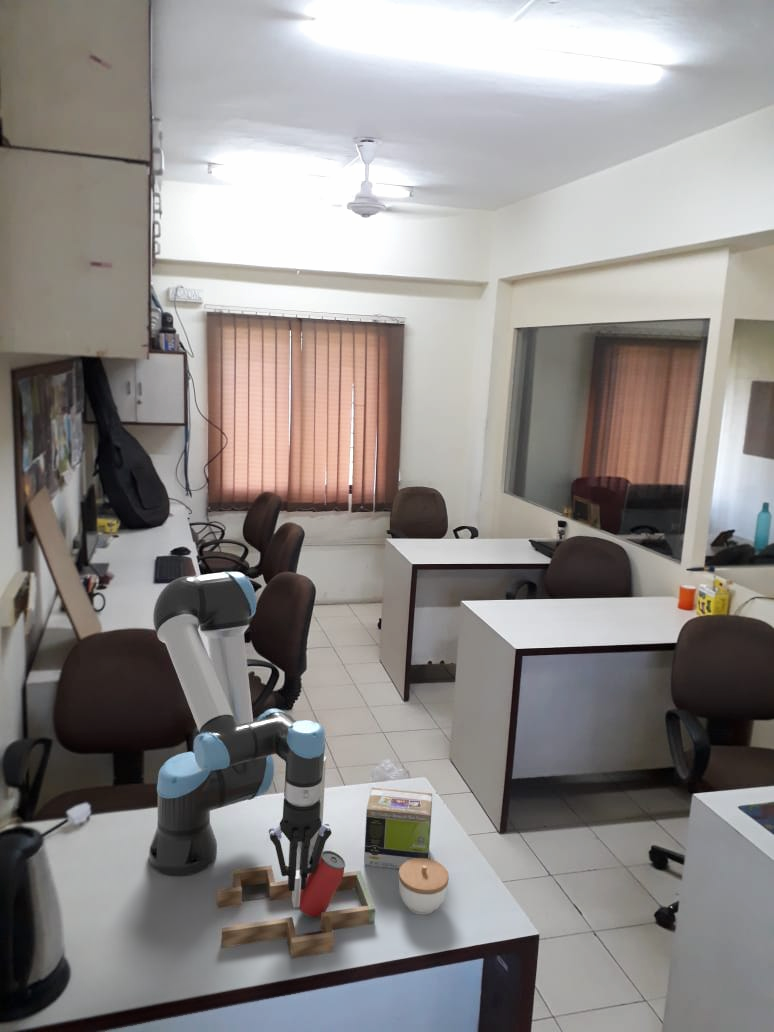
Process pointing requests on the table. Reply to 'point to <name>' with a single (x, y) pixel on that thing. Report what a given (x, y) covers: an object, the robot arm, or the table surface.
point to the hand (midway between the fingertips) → (295, 902)
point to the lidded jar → (422, 885)
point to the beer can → (322, 884)
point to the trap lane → (263, 886)
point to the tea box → (397, 827)
